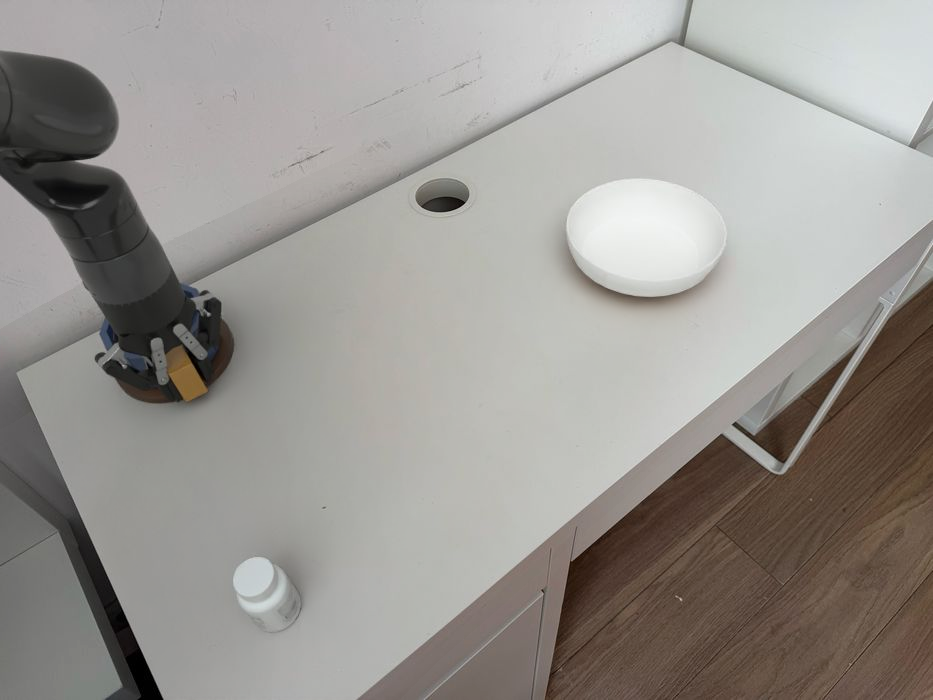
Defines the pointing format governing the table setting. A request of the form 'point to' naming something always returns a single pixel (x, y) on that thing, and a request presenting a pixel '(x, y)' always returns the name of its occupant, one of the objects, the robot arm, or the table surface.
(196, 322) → the serving bowl
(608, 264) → the bowl
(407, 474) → the table surface
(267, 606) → the pill bottle
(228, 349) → the turntable
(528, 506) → the table surface
